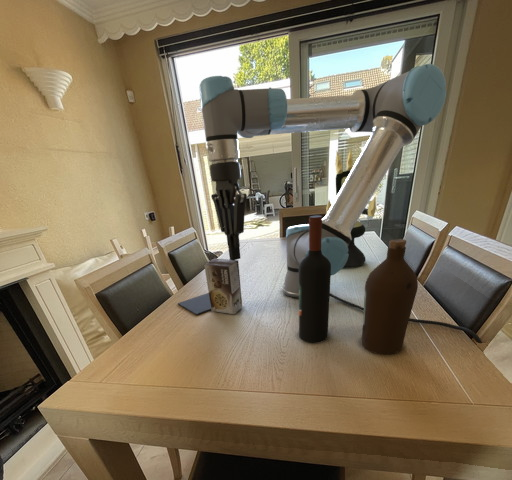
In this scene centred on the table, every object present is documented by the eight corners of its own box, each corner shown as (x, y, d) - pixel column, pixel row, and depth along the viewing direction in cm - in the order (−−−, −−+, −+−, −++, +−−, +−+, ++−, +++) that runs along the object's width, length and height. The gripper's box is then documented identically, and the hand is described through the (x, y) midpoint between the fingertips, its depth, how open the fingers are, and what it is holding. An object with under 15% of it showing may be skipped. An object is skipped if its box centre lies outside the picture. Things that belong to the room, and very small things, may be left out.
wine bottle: (310, 346, 74) (312, 220, 59) (293, 334, 80) (291, 217, 65) (333, 337, 77) (341, 215, 62) (315, 326, 83) (318, 212, 68)
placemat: (237, 299, 105) (237, 298, 105) (196, 315, 96) (196, 314, 96) (217, 291, 115) (217, 289, 114) (178, 304, 106) (177, 303, 106)
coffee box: (243, 306, 99) (239, 259, 90) (234, 315, 94) (229, 266, 85) (220, 302, 102) (214, 257, 94) (210, 310, 97) (203, 263, 89)
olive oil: (410, 341, 72) (433, 236, 59) (396, 361, 65) (418, 248, 53) (368, 330, 78) (381, 233, 66) (351, 347, 72) (361, 244, 59)
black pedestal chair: (324, 270, 126) (328, 146, 104) (322, 256, 145) (326, 149, 122) (369, 268, 123) (384, 140, 100) (362, 255, 141) (373, 144, 119)
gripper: (197, 165, 73) (212, 258, 85) (226, 160, 64) (237, 266, 76) (222, 163, 77) (232, 253, 89) (252, 159, 68) (259, 259, 80)
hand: (235, 258), depth 83 cm, fingers closed
